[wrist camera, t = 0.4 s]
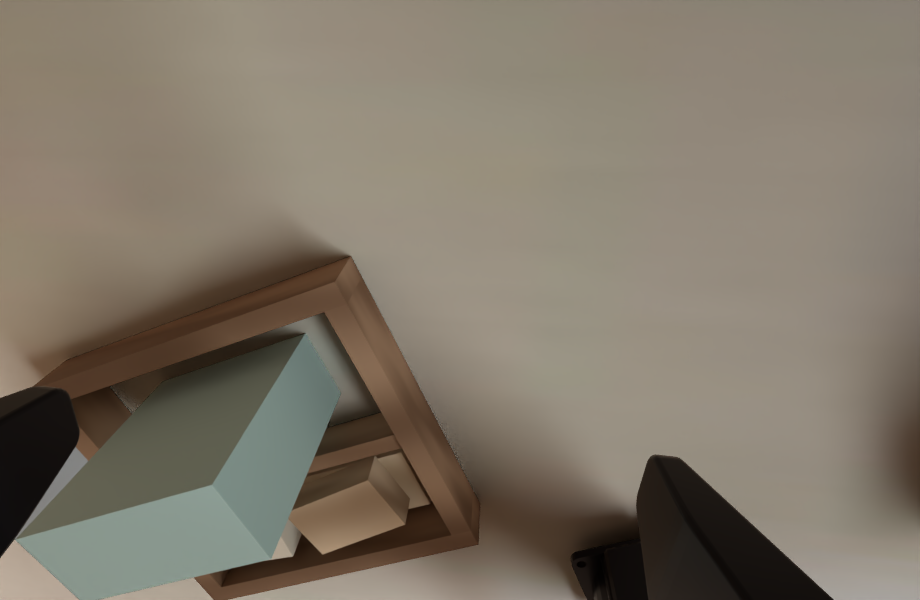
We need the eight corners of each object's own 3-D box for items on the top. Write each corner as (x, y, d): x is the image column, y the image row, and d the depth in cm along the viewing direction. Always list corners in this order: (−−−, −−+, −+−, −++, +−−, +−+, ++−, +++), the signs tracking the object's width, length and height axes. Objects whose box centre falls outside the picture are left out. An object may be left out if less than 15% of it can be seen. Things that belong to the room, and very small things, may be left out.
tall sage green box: (341, 392, 26) (271, 559, 18) (203, 434, 28) (83, 603, 20) (305, 333, 24) (212, 484, 16) (162, 381, 26) (15, 539, 18)
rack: (479, 503, 28) (478, 544, 26) (235, 561, 32) (216, 602, 30) (351, 256, 22) (334, 281, 20) (66, 360, 26) (25, 391, 24)
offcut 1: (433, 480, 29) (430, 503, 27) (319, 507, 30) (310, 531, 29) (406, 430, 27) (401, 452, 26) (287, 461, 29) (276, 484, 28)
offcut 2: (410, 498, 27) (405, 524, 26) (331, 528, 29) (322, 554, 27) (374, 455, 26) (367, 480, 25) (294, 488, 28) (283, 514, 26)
